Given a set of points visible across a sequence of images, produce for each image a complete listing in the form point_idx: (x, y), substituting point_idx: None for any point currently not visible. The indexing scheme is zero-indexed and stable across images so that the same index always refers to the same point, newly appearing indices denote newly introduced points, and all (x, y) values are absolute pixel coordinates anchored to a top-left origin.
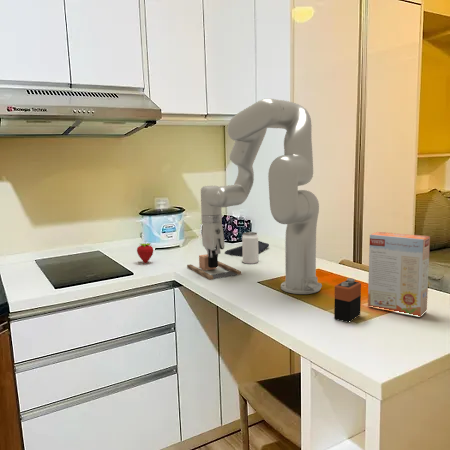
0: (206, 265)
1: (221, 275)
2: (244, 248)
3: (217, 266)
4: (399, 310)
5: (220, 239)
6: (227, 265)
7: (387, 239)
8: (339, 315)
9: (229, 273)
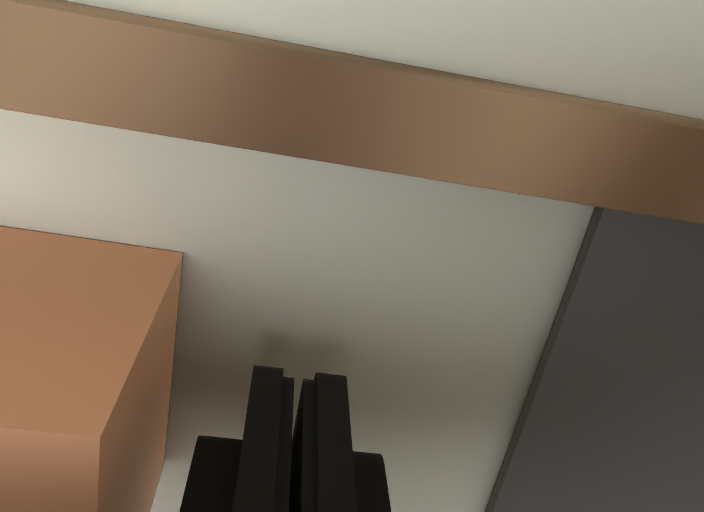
0: (143, 503)
1: (653, 460)
2: None
3: (343, 379)
4: None
5: None
6: (326, 72)
7: None
8: None
9: (686, 308)
